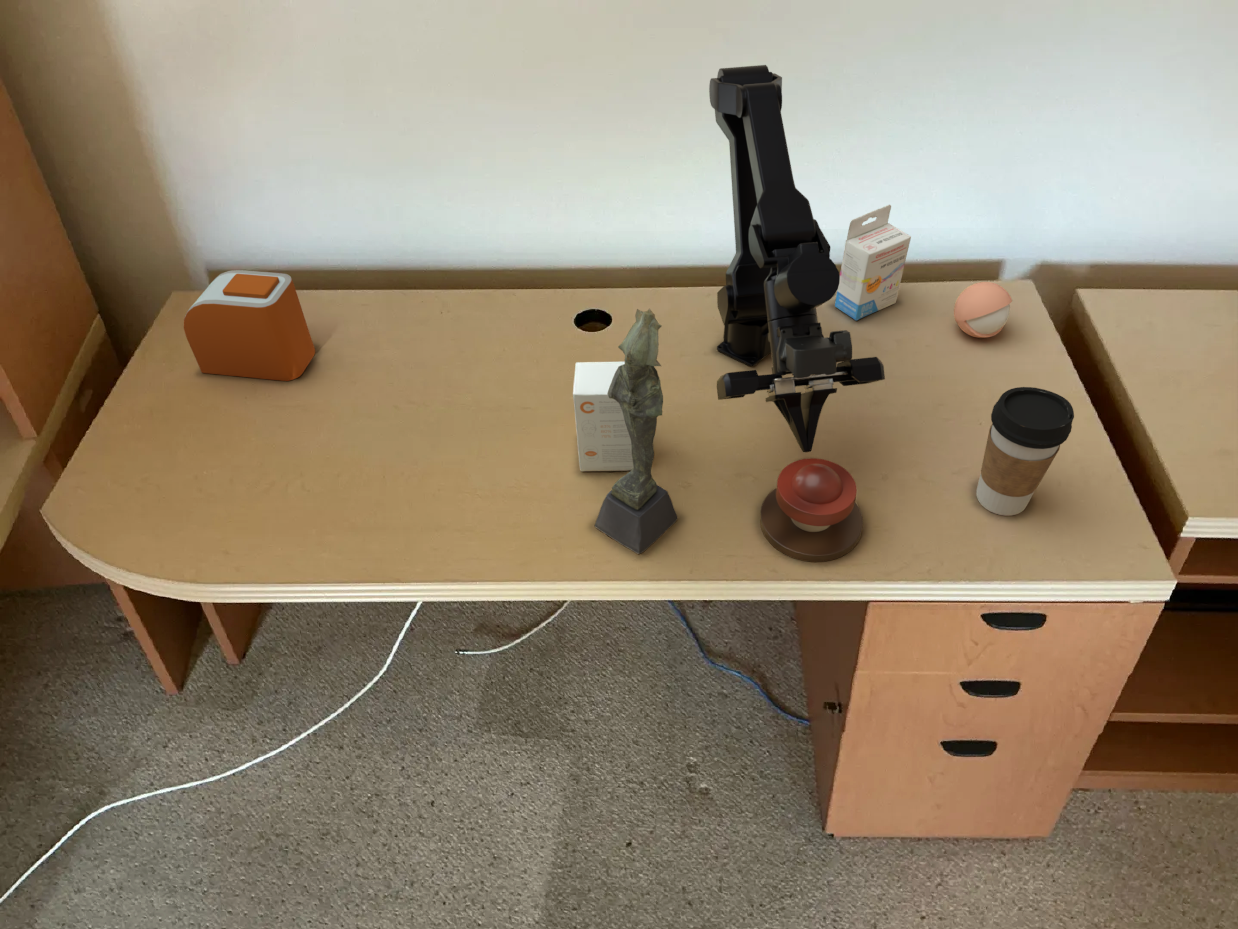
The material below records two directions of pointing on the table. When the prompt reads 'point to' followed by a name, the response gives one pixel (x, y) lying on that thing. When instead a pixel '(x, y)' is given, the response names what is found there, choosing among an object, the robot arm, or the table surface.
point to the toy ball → (982, 309)
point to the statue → (638, 444)
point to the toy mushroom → (812, 511)
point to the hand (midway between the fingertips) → (807, 452)
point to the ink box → (871, 265)
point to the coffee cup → (1021, 447)
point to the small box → (600, 420)
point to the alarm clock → (250, 327)
